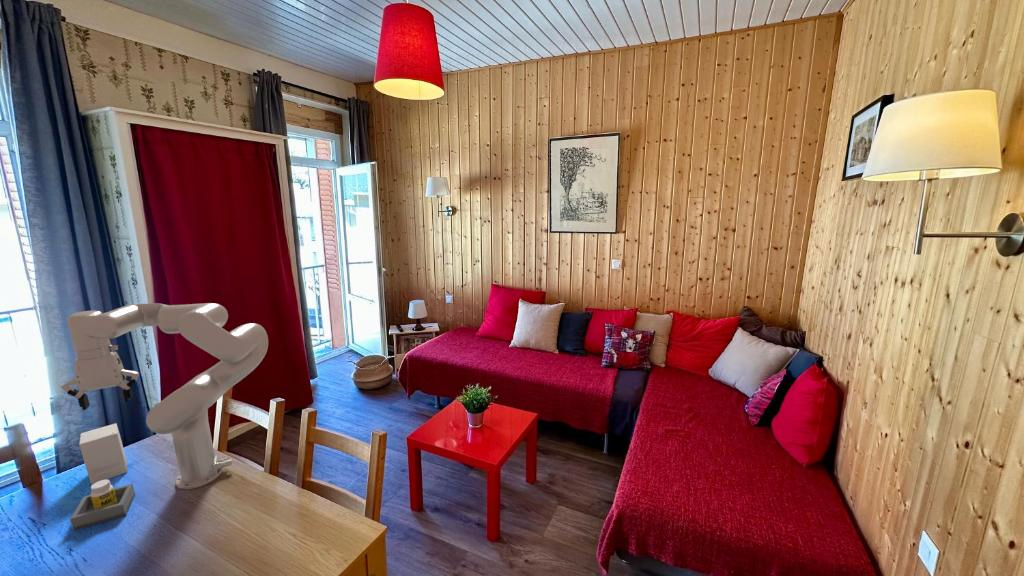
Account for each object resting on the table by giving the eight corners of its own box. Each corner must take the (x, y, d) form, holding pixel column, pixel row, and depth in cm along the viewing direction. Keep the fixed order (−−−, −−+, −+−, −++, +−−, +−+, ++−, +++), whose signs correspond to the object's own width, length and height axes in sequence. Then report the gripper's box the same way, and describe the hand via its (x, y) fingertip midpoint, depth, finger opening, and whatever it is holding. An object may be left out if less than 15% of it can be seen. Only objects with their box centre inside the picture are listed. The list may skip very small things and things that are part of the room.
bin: (135, 494, 129) (132, 483, 128) (125, 515, 120) (122, 504, 119) (87, 507, 123) (84, 496, 123) (73, 531, 115) (70, 519, 114)
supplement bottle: (103, 515, 119) (96, 490, 117) (91, 513, 120) (83, 488, 118) (122, 503, 124) (115, 479, 122) (109, 501, 125) (103, 477, 123)
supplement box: (127, 460, 145) (117, 422, 142) (128, 472, 139) (117, 433, 135) (91, 472, 139) (80, 432, 136) (90, 485, 133) (78, 444, 129)
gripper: (135, 342, 130) (147, 392, 134) (59, 353, 122) (74, 405, 126) (128, 350, 124) (141, 402, 128) (47, 362, 116) (63, 417, 120)
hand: (107, 404), depth 127 cm, fingers open, 9 cm apart
